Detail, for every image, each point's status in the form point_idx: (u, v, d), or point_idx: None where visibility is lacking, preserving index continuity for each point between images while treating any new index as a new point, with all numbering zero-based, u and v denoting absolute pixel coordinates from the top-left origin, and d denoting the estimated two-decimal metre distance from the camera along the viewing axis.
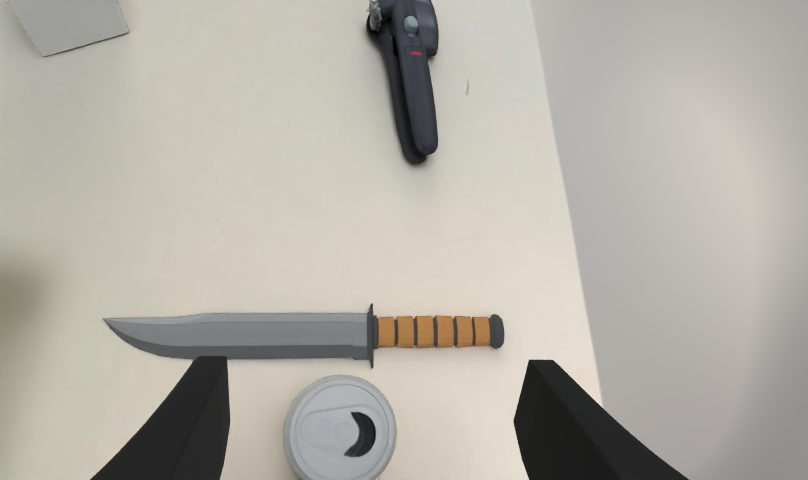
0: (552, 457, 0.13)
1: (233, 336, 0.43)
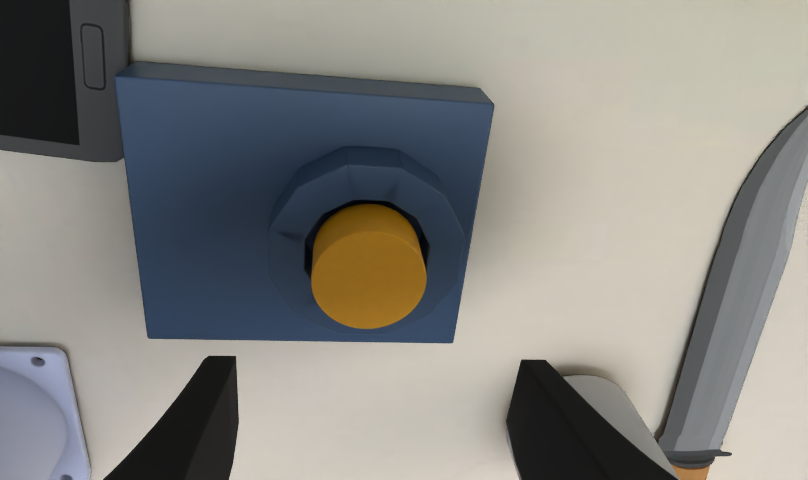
0: (543, 457, 0.12)
1: (741, 292, 0.27)
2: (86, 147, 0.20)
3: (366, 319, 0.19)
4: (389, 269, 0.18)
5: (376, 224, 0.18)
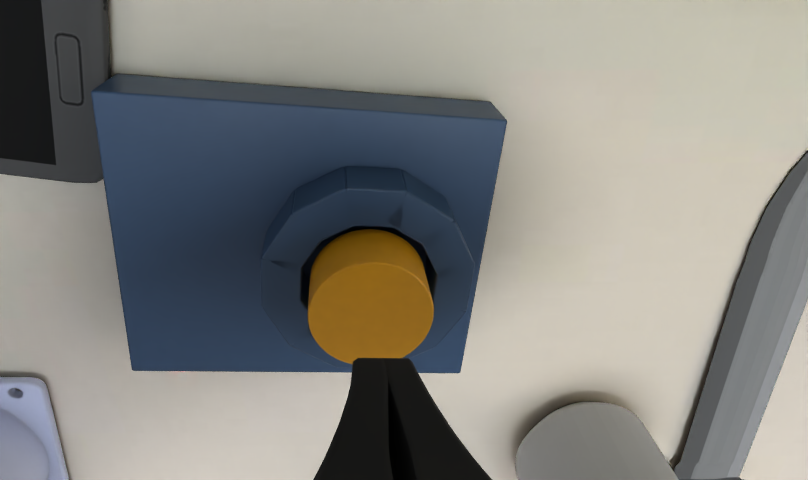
0: (391, 459, 0.12)
1: (764, 315, 0.25)
2: (63, 167, 0.18)
3: (368, 355, 0.17)
4: (392, 303, 0.16)
5: (378, 253, 0.16)
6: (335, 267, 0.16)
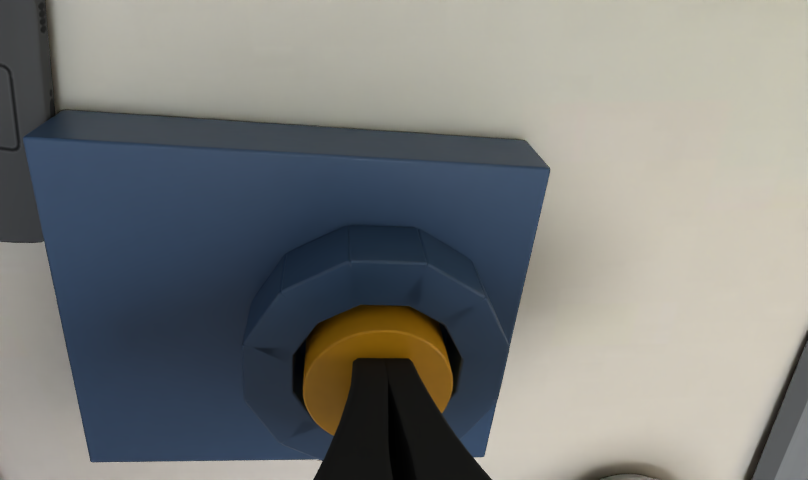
0: (391, 459, 0.12)
1: None
2: None
3: None
4: None
5: (387, 317, 0.14)
6: (336, 334, 0.13)
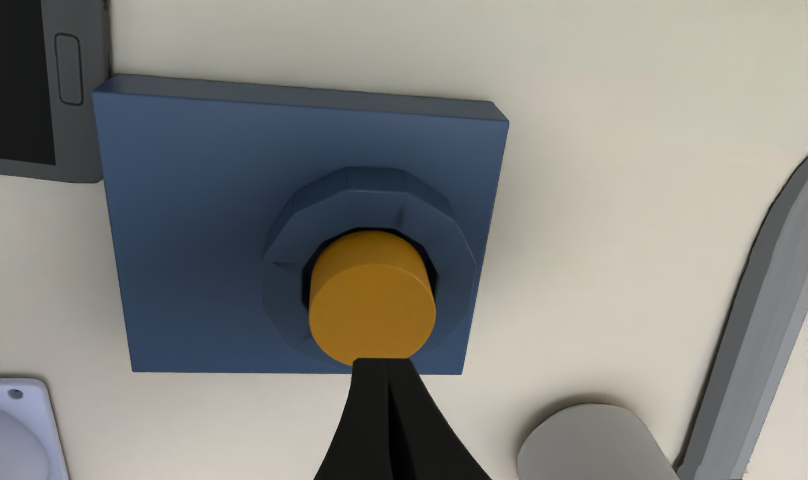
0: (390, 459, 0.12)
1: (768, 317, 0.25)
2: (62, 168, 0.18)
3: (369, 357, 0.17)
4: (394, 305, 0.16)
5: (380, 255, 0.16)
6: (336, 269, 0.16)
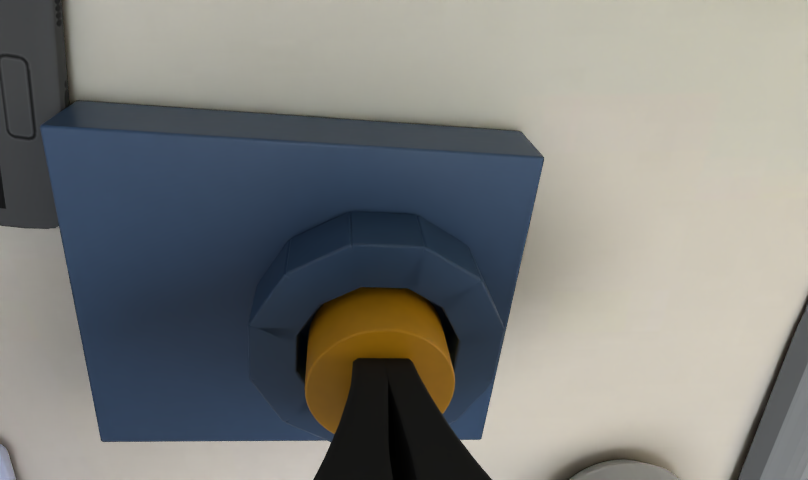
0: (391, 459, 0.12)
1: None
2: (14, 211, 0.15)
3: None
4: None
5: (389, 316, 0.13)
6: (338, 333, 0.13)
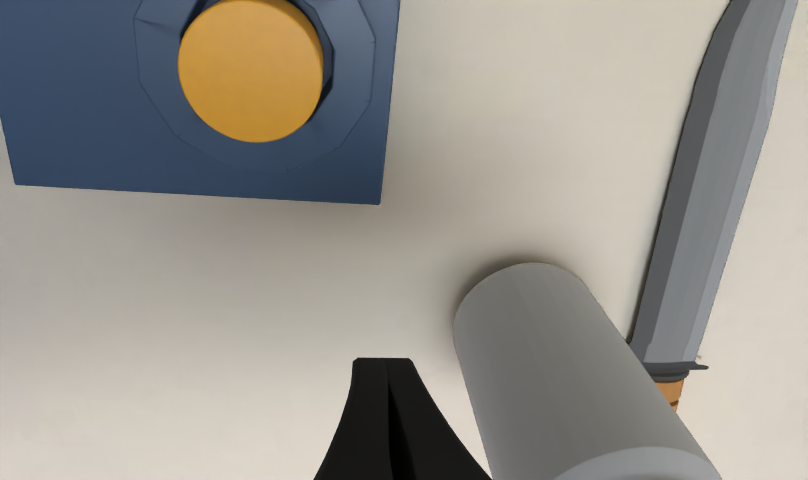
0: (391, 459, 0.12)
1: (716, 165, 0.23)
2: None
3: (251, 127, 0.15)
4: (273, 57, 0.15)
5: None
6: None
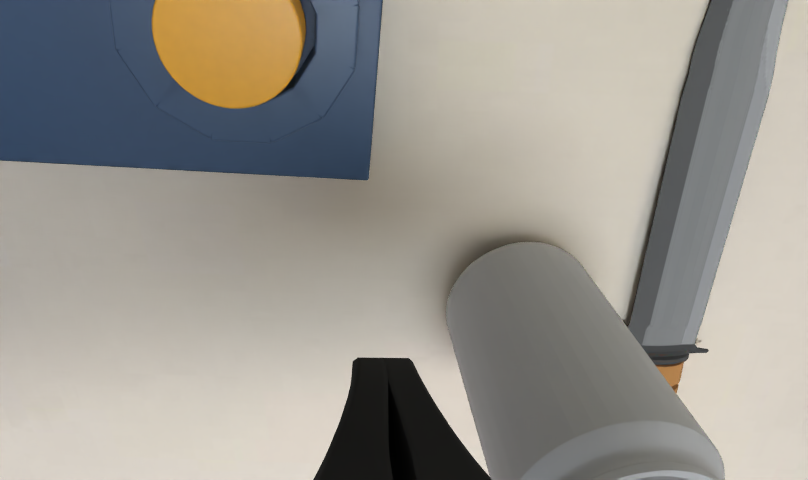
0: (390, 459, 0.12)
1: (714, 139, 0.23)
2: None
3: (229, 92, 0.15)
4: (251, 17, 0.14)
5: None
6: None
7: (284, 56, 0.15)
